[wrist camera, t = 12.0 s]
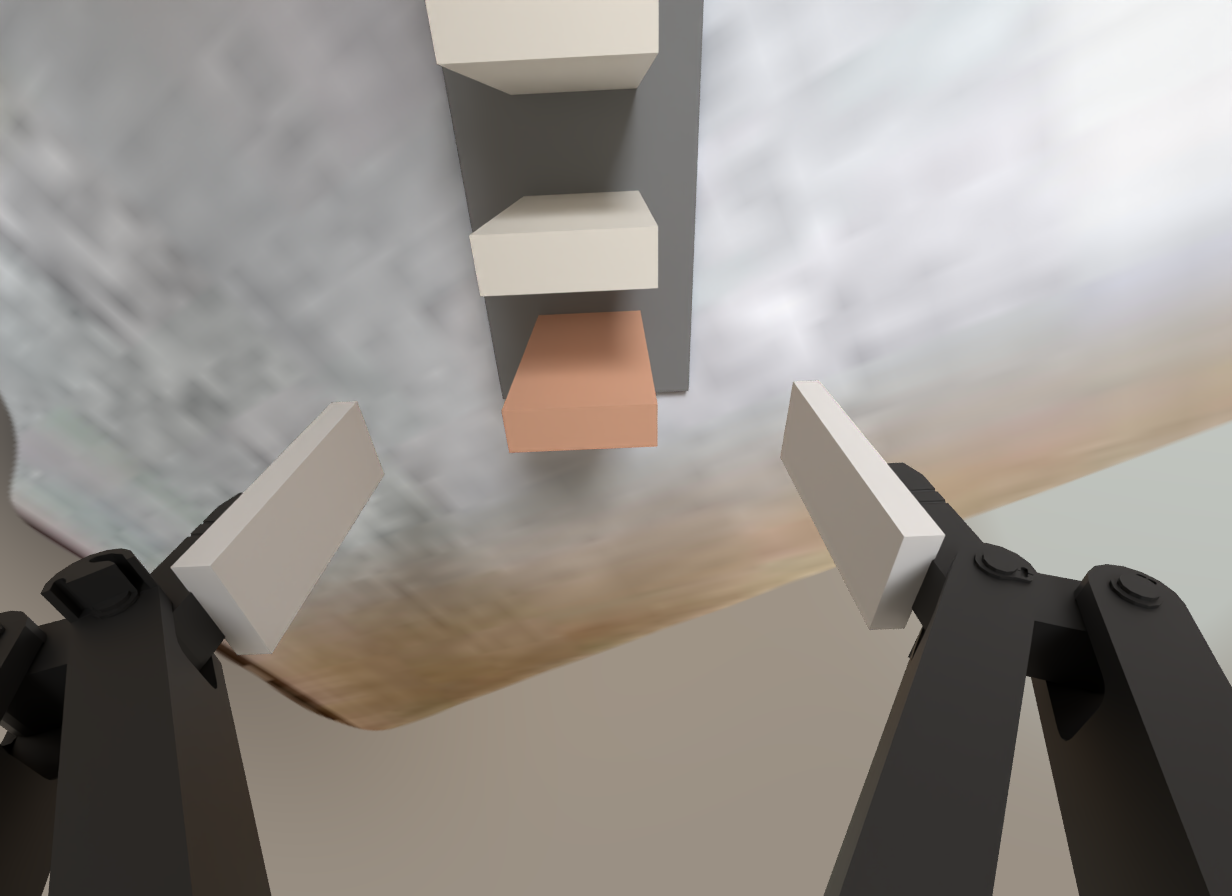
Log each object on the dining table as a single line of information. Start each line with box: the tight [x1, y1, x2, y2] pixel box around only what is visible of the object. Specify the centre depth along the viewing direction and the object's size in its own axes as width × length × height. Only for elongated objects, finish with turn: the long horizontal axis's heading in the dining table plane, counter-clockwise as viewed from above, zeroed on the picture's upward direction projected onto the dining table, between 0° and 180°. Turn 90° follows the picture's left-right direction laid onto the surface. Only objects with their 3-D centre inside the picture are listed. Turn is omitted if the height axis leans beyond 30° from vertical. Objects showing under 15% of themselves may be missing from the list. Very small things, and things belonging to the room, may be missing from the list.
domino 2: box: [469, 191, 658, 296], centre depth 18 cm, size 2×5×10 cm, turn 92°
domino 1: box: [425, 0, 659, 95], centre depth 15 cm, size 2×5×10 cm, turn 93°
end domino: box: [502, 310, 657, 453], centre depth 21 cm, size 2×5×10 cm, turn 93°
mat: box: [442, 0, 704, 399], centre depth 20 cm, size 27×10×1 cm, turn 2°
